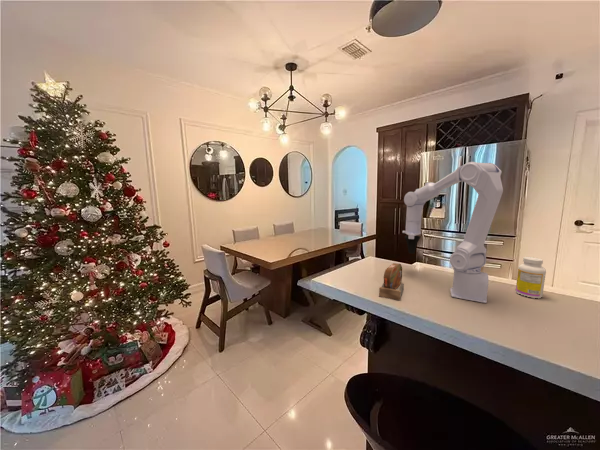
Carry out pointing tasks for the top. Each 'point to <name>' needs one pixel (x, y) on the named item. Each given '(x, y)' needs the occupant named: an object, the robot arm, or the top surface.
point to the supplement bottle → (531, 277)
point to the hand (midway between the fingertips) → (411, 253)
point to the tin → (393, 276)
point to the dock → (391, 292)
